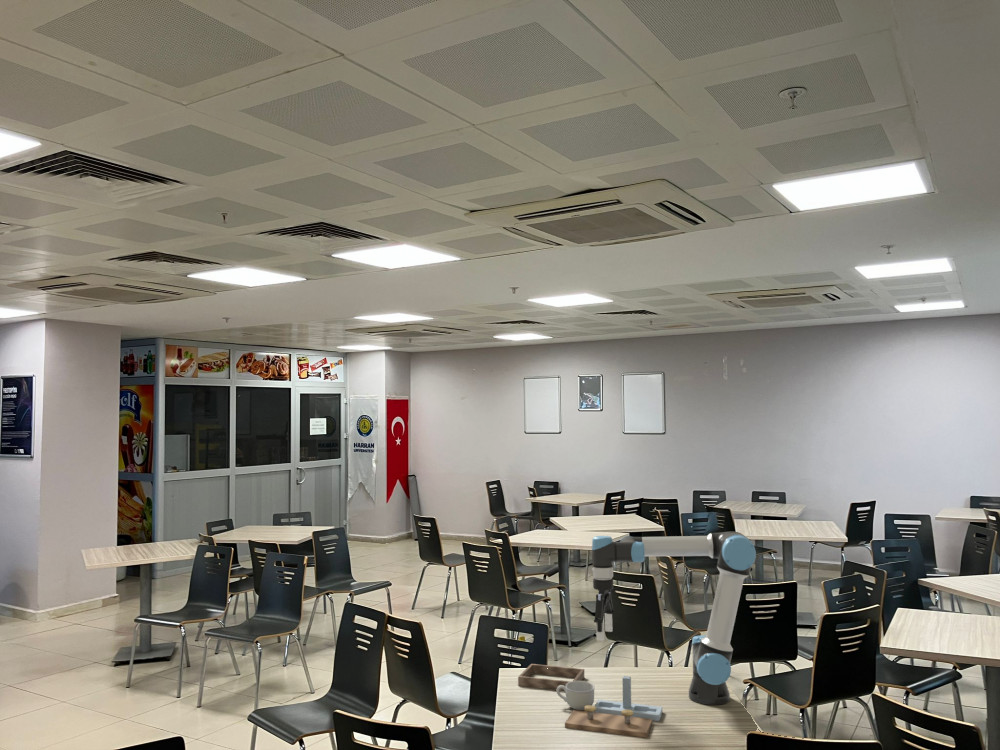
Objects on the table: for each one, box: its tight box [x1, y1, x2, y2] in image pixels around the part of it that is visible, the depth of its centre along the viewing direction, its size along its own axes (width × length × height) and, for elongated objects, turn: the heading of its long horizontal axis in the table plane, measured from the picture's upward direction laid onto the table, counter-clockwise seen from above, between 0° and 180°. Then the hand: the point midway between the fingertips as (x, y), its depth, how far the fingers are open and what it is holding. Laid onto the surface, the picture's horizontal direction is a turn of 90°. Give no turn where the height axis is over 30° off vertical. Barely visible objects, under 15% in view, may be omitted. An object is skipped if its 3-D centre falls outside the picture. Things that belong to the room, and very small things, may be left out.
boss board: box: [564, 704, 653, 738], centre depth 268 cm, size 28×13×5 cm, turn 71°
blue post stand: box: [594, 675, 663, 722], centre depth 280 cm, size 24×9×12 cm, turn 71°
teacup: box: [556, 680, 595, 711], centre depth 286 cm, size 14×11×8 cm
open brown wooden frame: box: [517, 663, 585, 692], centre depth 314 cm, size 23×18×4 cm
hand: (604, 635), depth 289 cm, fingers open, 13 cm apart
